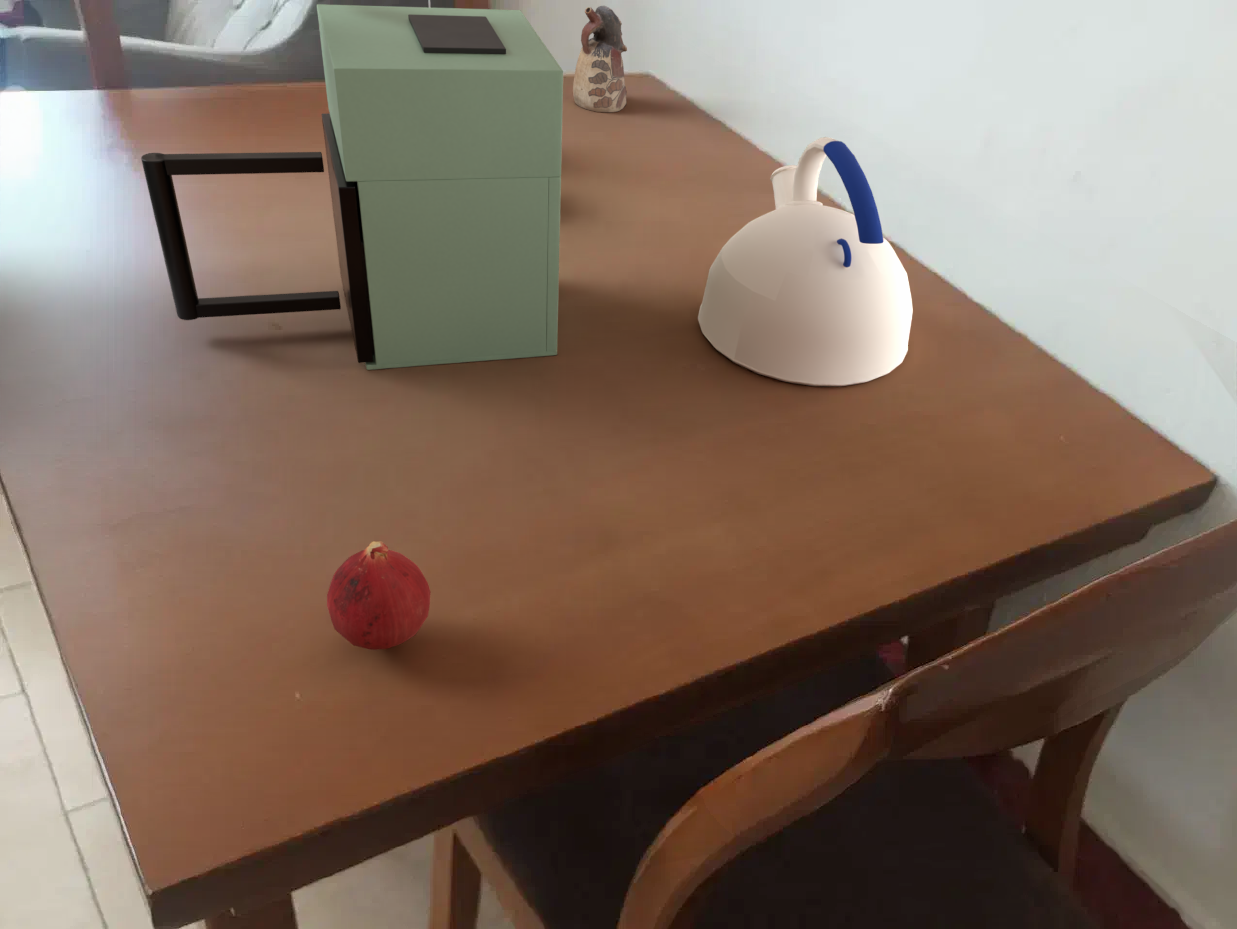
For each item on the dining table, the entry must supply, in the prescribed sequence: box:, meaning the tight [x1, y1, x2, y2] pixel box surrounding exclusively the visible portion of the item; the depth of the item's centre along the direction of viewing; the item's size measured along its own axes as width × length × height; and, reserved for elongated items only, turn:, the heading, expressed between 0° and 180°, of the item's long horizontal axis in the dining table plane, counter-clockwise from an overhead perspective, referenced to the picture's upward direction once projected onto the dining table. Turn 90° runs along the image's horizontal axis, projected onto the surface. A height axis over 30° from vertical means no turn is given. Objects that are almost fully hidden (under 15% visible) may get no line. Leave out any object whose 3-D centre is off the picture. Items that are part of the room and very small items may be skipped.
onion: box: [326, 540, 432, 651], centre depth 64 cm, size 6×6×8 cm
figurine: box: [572, 5, 628, 113], centre depth 141 cm, size 7×7×12 cm
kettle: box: [697, 136, 914, 387], centre depth 98 cm, size 20×21×18 cm
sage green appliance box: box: [316, 3, 564, 371], centre depth 89 cm, size 16×15×24 cm
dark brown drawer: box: [140, 112, 375, 364], centre depth 89 cm, size 28×15×15 cm, turn 110°
